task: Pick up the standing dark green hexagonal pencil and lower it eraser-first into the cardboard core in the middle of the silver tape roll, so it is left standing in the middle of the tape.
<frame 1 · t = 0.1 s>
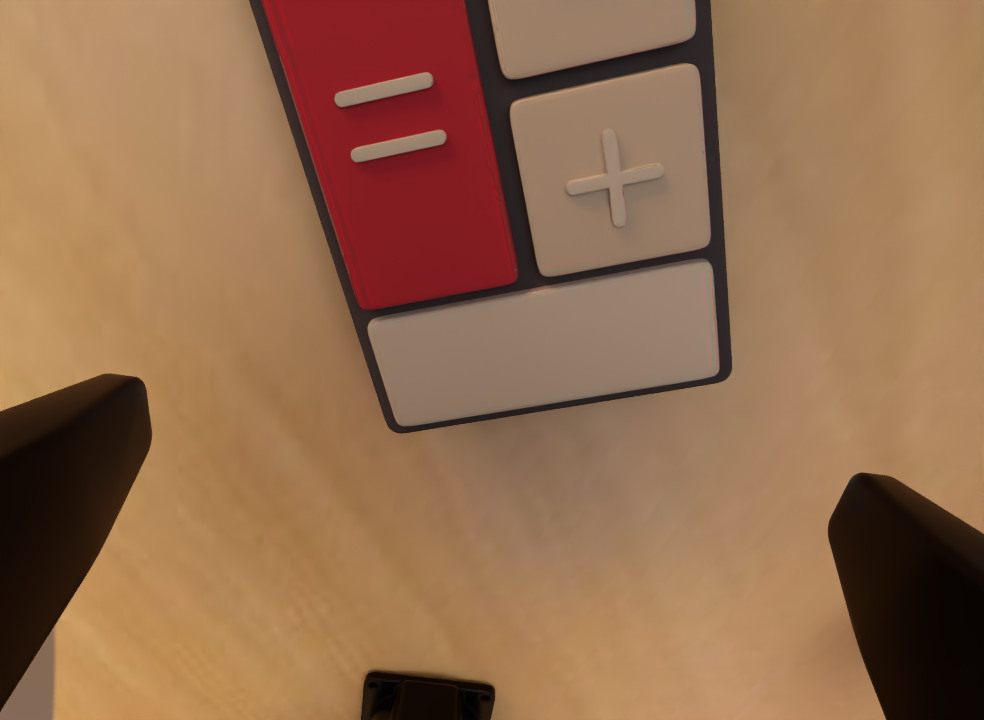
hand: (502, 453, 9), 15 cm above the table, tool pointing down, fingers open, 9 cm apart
calculator: (511, 148, 21), on the table
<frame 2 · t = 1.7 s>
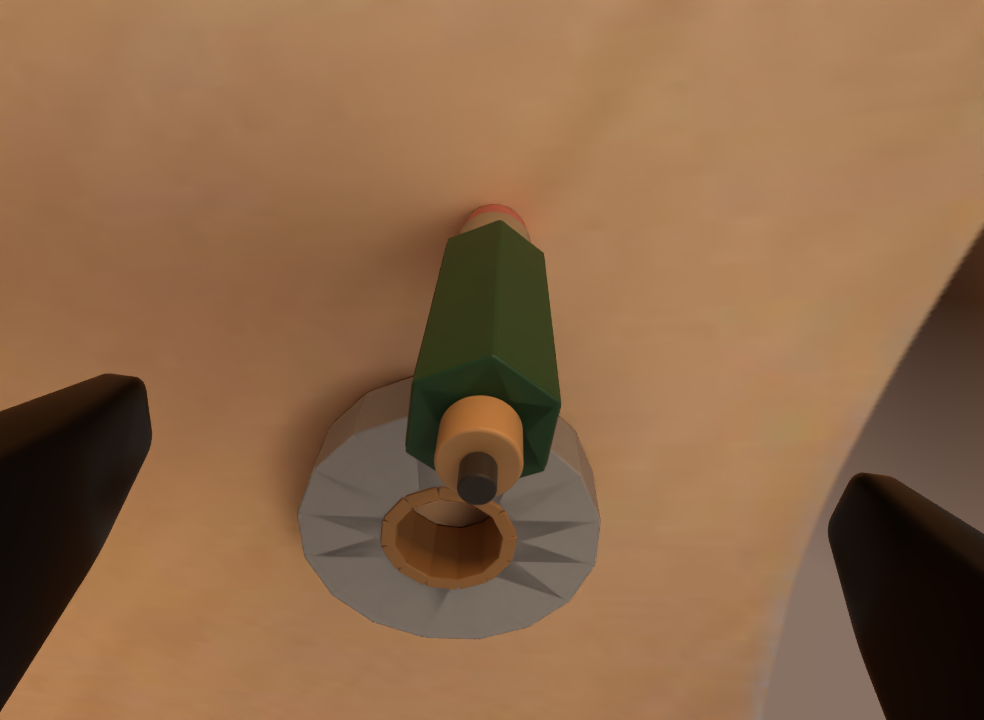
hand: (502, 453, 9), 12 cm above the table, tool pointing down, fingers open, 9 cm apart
tape: (454, 490, 25), on the table
pencil: (494, 235, 20), on the table
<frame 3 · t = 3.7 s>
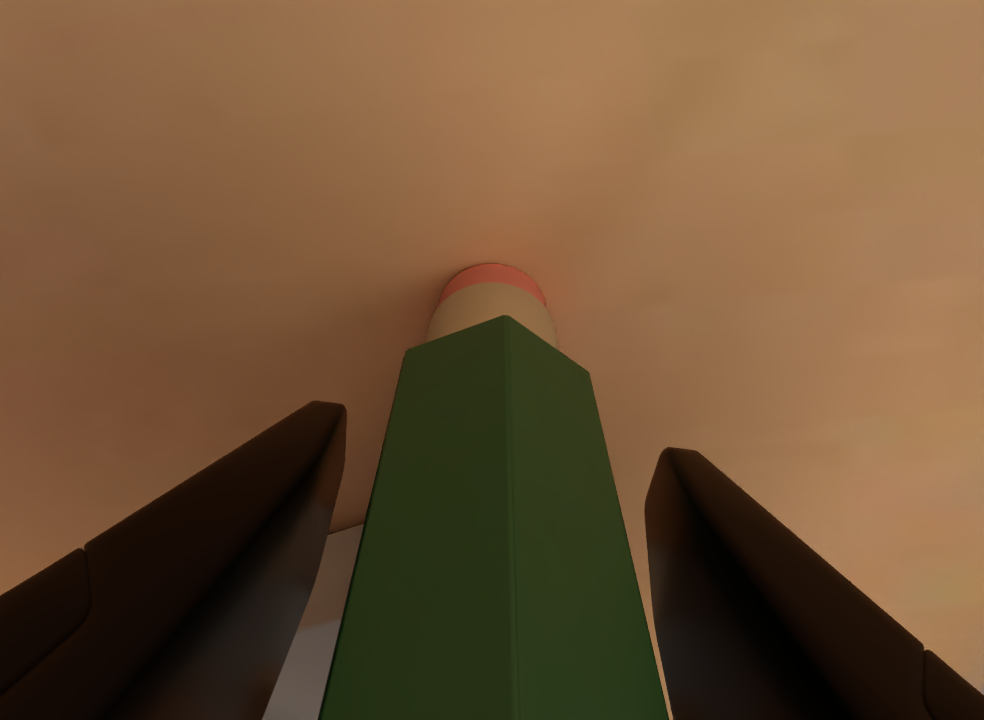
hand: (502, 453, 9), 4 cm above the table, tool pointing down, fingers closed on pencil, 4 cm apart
tape: (436, 669, 17), on the table
pencil: (492, 312, 12), on the table, touching gripper
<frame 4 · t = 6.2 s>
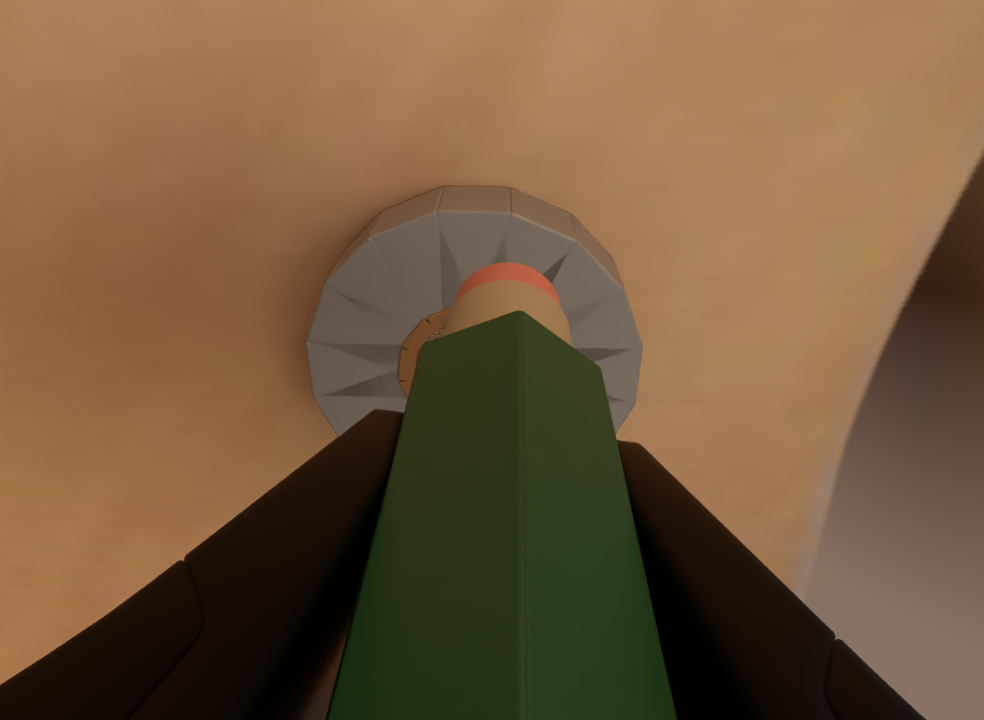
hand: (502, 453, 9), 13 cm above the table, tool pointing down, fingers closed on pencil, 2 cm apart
tape: (477, 334, 23), on the table
pencil: (507, 310, 12), point 9 cm above the table, touching gripper
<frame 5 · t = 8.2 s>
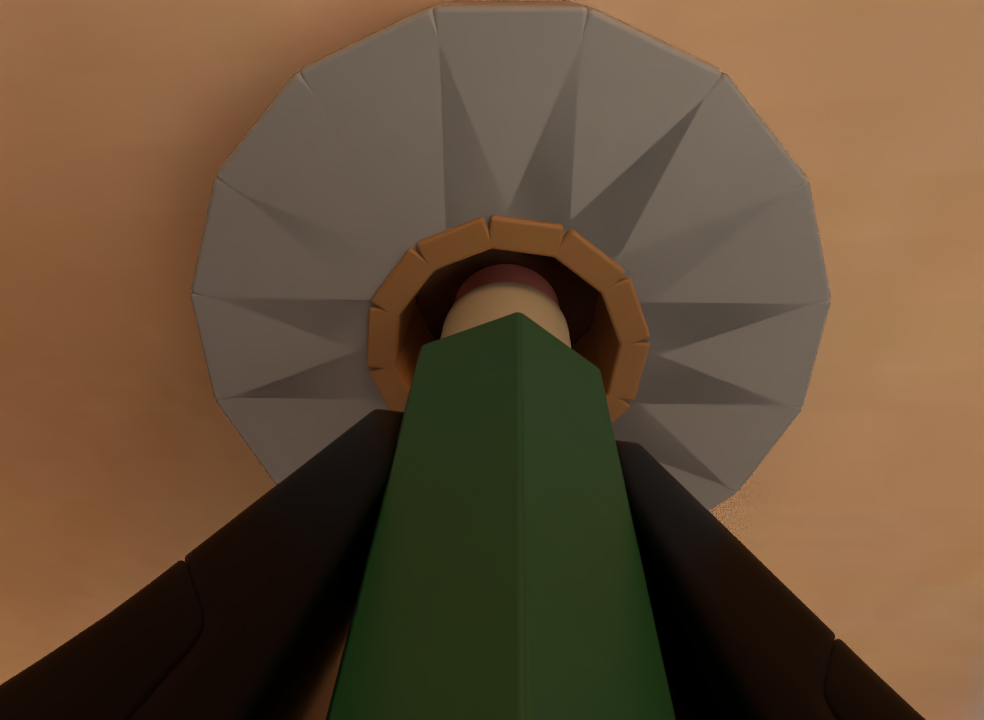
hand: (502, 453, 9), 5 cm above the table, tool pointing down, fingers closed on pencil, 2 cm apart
tape: (507, 291, 13), on the table
pencil: (506, 312, 12), point 1 cm above the table, touching gripper
when the fingers open (4 cm above the table, at t = 9.2 s): pencil stays where it is, resting on tape.
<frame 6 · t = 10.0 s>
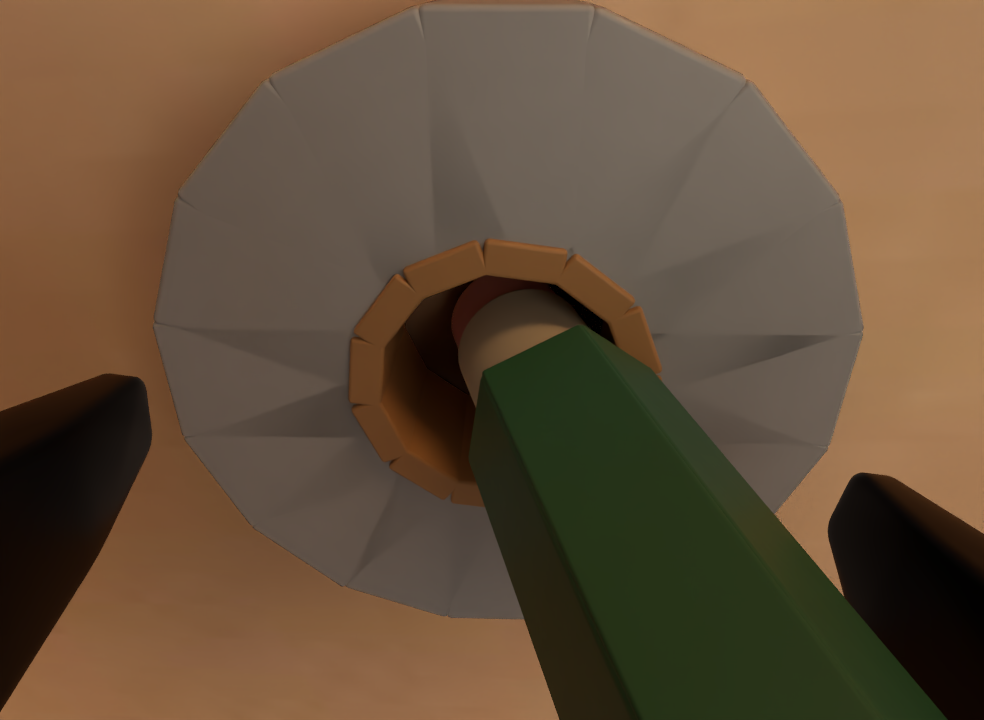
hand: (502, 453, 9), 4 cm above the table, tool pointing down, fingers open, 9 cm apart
tape: (504, 315, 12), on the table, touching pencil
pencil: (503, 316, 12), resting in tape, tilted 16°
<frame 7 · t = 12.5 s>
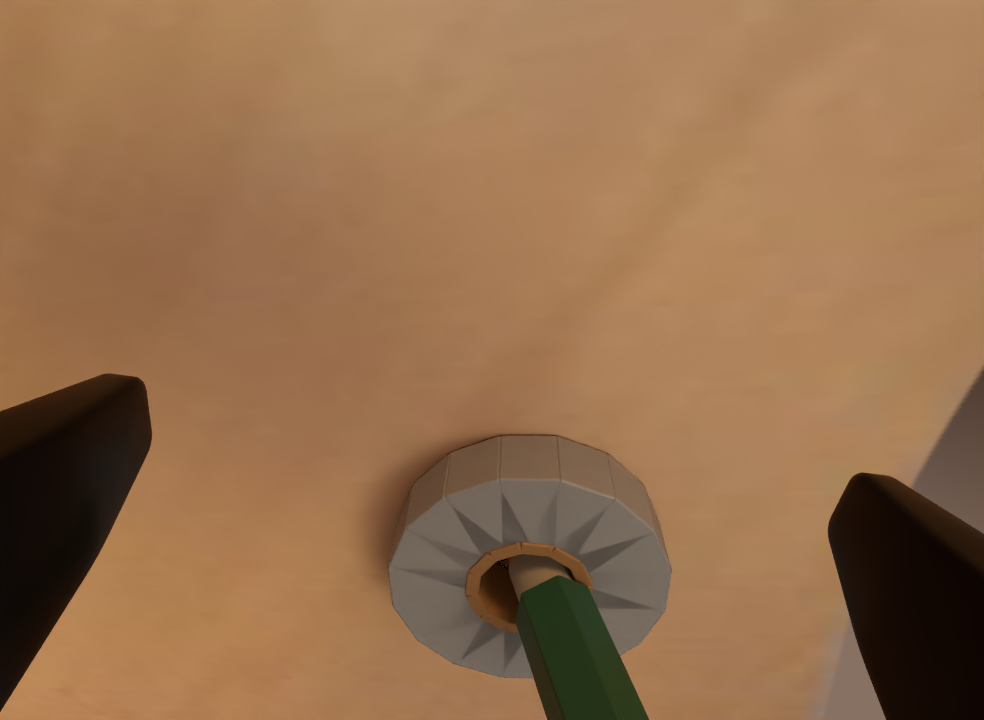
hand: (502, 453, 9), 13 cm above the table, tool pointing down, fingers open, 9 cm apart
tape: (527, 539, 26), on the table, touching pencil
pencil: (527, 542, 26), resting in tape, tilted 16°
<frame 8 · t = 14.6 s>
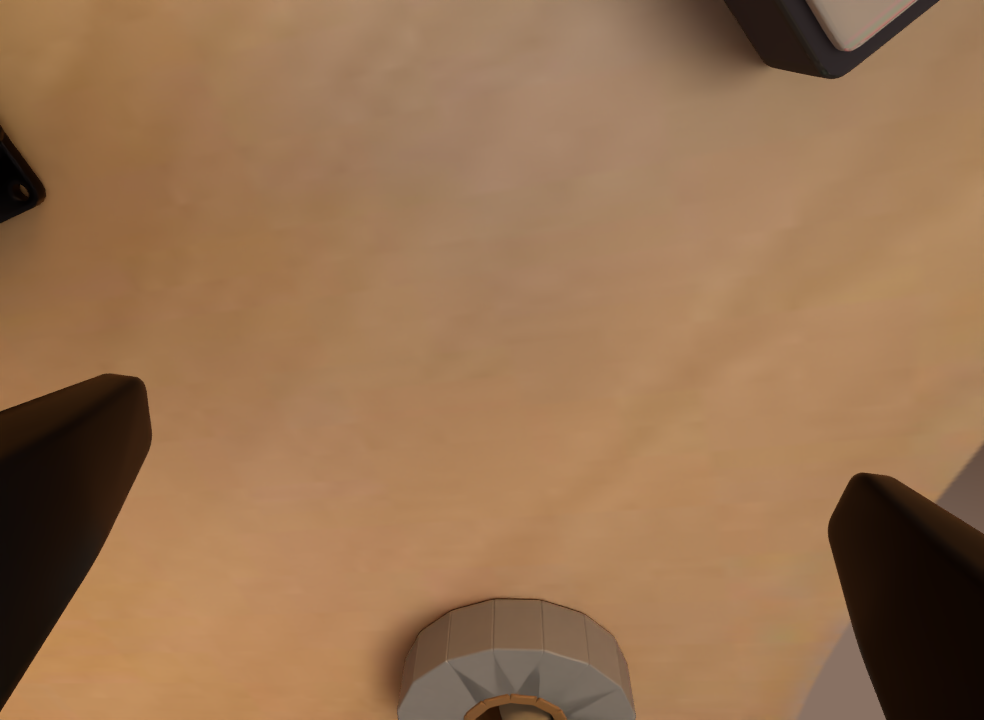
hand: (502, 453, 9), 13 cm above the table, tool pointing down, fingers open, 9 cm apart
tape: (515, 675, 31), on the table, touching pencil
pencil: (515, 679, 31), resting in tape, tilted 16°
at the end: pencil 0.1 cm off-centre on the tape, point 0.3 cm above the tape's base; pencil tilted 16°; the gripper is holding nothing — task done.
